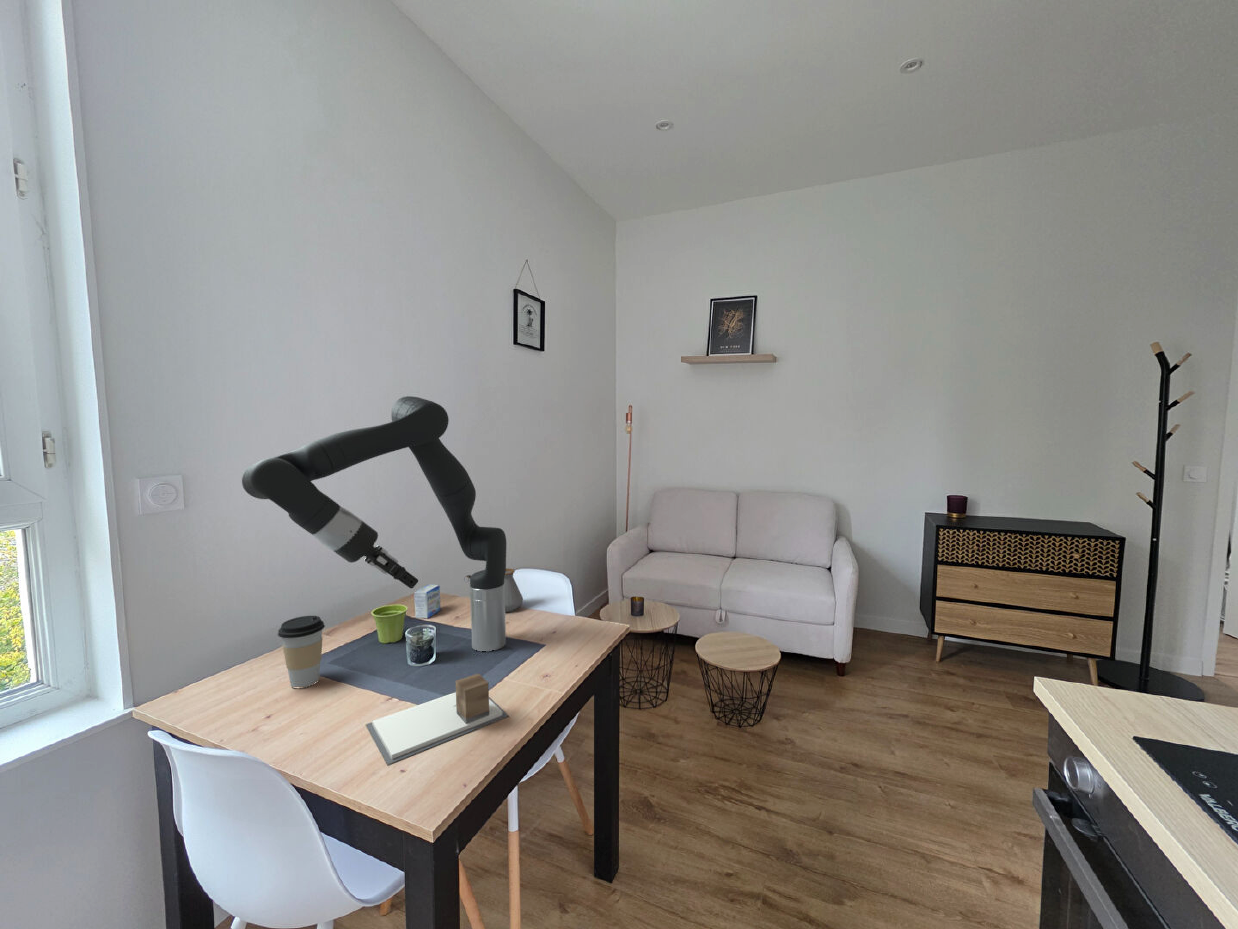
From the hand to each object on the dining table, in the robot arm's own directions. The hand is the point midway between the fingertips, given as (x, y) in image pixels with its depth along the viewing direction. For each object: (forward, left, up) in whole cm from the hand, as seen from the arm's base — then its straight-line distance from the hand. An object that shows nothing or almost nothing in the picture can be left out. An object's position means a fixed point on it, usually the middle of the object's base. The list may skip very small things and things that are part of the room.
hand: (408, 579), depth 106 cm
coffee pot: (-42, +39, -29) cm, 64 cm away
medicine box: (-55, +22, -29) cm, 66 cm away
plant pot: (-42, +7, -29) cm, 51 cm away
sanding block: (+12, +8, -28) cm, 31 cm away
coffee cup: (-29, -16, -29) cm, 44 cm away
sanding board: (+8, +3, -29) cm, 30 cm away
